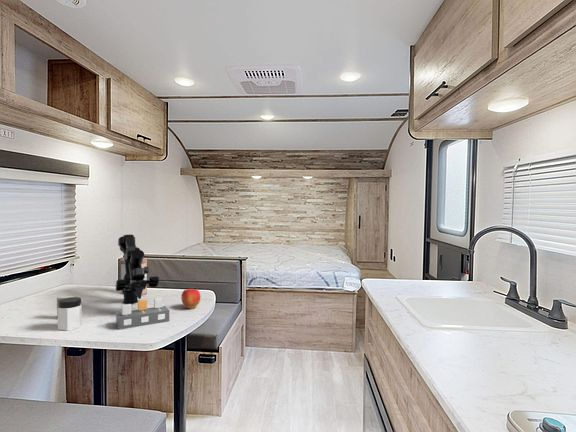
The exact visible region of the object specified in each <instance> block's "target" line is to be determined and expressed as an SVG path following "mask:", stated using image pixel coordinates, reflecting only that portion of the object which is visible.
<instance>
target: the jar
mask: <svg viewBox="0 0 576 432" xmlns="http://www.w3.org/2000/svg"><path fill="white" fill-rule="evenodd" d="M82 306H83V305H82V298H81V297H76V296H75V297H74V296H73V297H70V298H64V299H61V300H59V308H58V319H57V330H58V331H66V332H68V331H71V330H76V329H79V328H81V326H82V323H83V322H82V321H83V320H82V319H83V318H82V317H83V316H82V314H83V313H82V311H83V309H82Z"/></svg>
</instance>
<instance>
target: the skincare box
mask: <svg viewBox="0 0 576 432" xmlns="http://www.w3.org/2000/svg"><path fill="white" fill-rule="evenodd" d="M70 297H74V296H73V295H66V294H65V295H61V296H58V297H56V313H57V314H56V319H57V320H58V308H59V300H61V299H64V298H70Z"/></svg>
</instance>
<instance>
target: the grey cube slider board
mask: <svg viewBox="0 0 576 432" xmlns="http://www.w3.org/2000/svg"><path fill="white" fill-rule="evenodd" d="M115 319H116V320H115V324H116V327H117V330H124V329H131V328H136V327H143V326H149V325H154V324H159V323H160V324H161V323H167V322H170V309H169V308H168V307H167V306H166V305H163V307H160V308H154V306H153V307H148V308H147V309H146V310H138V309H131V314H128V315H122V311H119V312H116V313H115Z"/></svg>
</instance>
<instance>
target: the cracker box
mask: <svg viewBox="0 0 576 432" xmlns="http://www.w3.org/2000/svg"><path fill="white" fill-rule="evenodd" d="M120 260H121V261H120V262H121V263H120V265H121V267H120V268H121V269H120V270H121V271H120V279H124V276H125V274H126V273H125V264H124V258H121V259H120ZM147 260H148V259H147V258H143V262H142V264H141V266H142V268H144V267H148V261H147ZM147 275H148V274H145V275H144V276H145V278H144V280H148V278H147V277H148V276H147ZM147 288H148V284H147V285H146V289H143V292H142V295H141V296H144V295H147V294H148V291H147V290H148V289H147ZM124 290H125V289H124ZM120 294H121V295H124V293H122V291H120Z"/></svg>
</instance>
